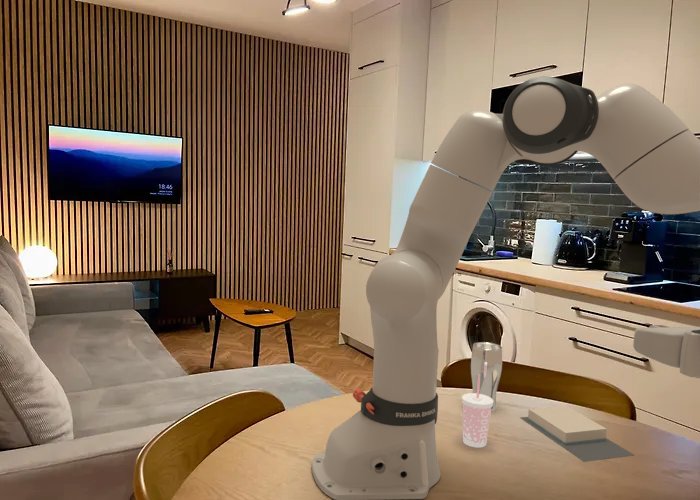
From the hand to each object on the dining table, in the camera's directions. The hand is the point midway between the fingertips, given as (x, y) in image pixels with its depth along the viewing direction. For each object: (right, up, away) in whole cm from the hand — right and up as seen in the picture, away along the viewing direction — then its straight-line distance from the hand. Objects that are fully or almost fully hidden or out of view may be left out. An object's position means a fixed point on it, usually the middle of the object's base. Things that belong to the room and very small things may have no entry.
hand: (655, 329), depth 89 cm
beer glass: (-21, -24, +32) cm, 45 cm away
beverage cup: (-28, -25, +14) cm, 40 cm away
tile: (-5, -24, +15) cm, 29 cm away
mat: (-6, -25, +19) cm, 32 cm away
